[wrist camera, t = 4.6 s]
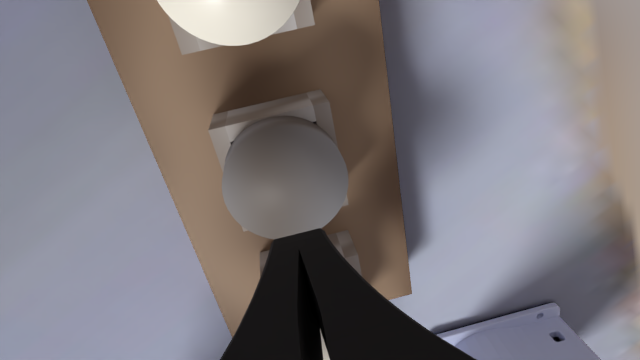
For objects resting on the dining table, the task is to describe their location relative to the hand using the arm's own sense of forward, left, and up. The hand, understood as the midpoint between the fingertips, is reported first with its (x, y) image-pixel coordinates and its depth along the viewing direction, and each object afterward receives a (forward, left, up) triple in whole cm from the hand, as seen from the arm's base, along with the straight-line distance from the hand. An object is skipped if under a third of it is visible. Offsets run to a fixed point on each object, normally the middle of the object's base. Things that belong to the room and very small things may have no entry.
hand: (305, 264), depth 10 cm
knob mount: (0, 0, -9) cm, 9 cm away
